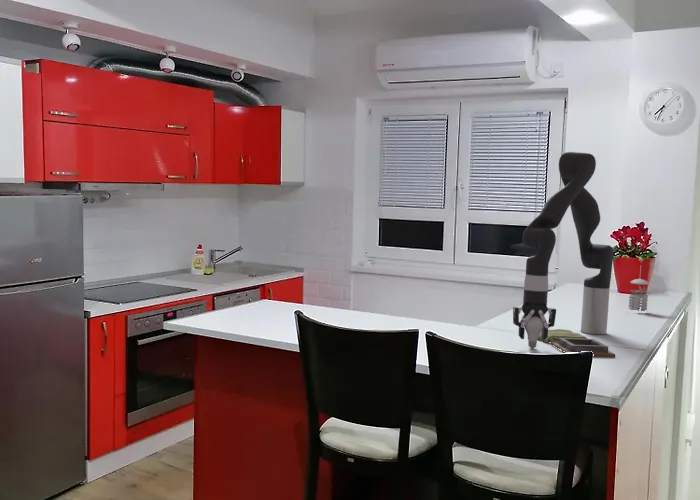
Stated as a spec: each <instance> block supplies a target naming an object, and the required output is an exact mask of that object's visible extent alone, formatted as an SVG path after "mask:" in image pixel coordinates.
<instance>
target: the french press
mask: <svg viewBox="0 0 700 500" xmlns="http://www.w3.org/2000/svg"><path fill="white" fill-rule="evenodd" d="M638 261H640V262H643V261H644V257H639V259H638ZM639 268H640V269H639V271H640V272H639V276H641V273H642V266H640V267H639ZM629 283H630V284H634V285H638V290H637V289H631V290H630V292H631V293H629V296H628V297H629V299H628V300H629V301H628V309H630V310H638V311H639V309H640V308H641V311H645V310H647V311H648V301H649V300H648V298H649V295H648V294H647V293H648V291H647V290H646V287H645V286H646V285H649V284H650V283H649V281H647V280H645V279H642V278H637V279H636V278H635V279H633V280H631V281H629ZM640 285H642V286H643V285H644V286H643V288H641V286H640Z"/></svg>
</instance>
